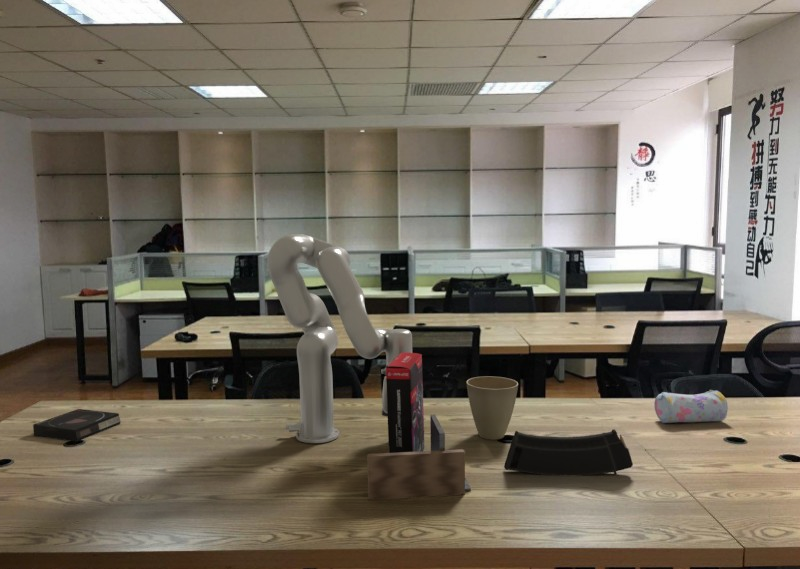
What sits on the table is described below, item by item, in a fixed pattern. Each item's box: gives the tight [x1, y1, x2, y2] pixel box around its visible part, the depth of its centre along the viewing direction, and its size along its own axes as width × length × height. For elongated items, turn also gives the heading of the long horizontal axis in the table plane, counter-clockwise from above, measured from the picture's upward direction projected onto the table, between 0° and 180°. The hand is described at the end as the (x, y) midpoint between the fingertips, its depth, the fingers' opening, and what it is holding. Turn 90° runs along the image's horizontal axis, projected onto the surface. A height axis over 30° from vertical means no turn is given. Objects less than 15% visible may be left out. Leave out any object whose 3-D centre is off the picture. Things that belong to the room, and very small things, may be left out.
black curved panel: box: [503, 428, 634, 476], centre depth 147 cm, size 17×3×30 cm
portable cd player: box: [32, 408, 121, 442], centre depth 184 cm, size 16×17×4 cm
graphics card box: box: [385, 352, 425, 453], centre depth 155 cm, size 17×7×27 cm, turn 168°
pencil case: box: [653, 389, 729, 424], centre depth 185 cm, size 21×9×10 cm, turn 98°
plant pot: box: [466, 375, 519, 441], centre depth 174 cm, size 15×15×16 cm
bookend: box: [429, 414, 472, 492], centre depth 144 cm, size 7×14×14 cm, turn 6°
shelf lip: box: [367, 448, 466, 501], centre depth 135 cm, size 22×2×10 cm, turn 96°
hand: (400, 434), depth 173 cm, fingers closed
